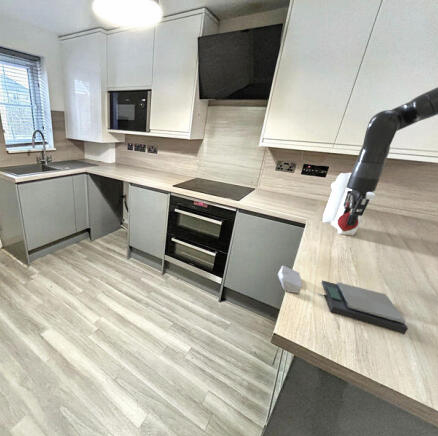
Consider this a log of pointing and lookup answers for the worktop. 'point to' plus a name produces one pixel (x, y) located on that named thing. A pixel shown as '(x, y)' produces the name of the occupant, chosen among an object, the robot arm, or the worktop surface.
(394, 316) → the scale plate
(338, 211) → the white stepped block
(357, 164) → the robot arm
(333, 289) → the scale
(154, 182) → the worktop surface
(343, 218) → the onion
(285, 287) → the light grey faceted block
